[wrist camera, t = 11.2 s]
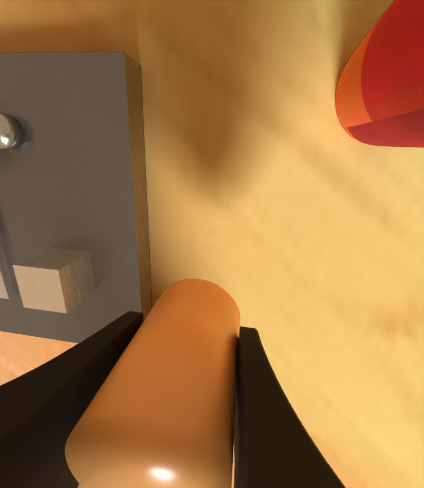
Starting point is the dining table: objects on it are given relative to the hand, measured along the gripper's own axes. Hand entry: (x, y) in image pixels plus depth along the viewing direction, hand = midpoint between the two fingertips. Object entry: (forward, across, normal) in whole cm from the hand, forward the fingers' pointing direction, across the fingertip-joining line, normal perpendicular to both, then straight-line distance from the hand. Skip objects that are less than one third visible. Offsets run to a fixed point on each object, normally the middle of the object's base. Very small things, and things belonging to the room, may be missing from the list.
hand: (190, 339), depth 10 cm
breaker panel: (+8, +15, -2) cm, 17 cm away
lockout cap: (+1, 0, 0) cm, 1 cm away
